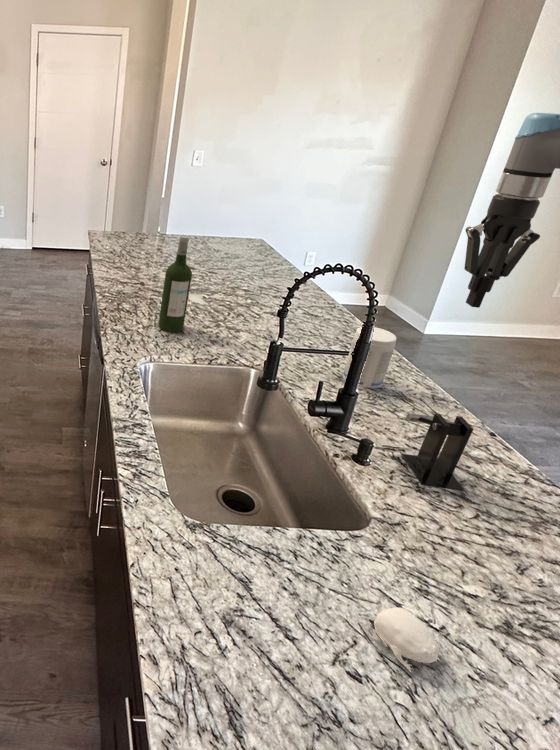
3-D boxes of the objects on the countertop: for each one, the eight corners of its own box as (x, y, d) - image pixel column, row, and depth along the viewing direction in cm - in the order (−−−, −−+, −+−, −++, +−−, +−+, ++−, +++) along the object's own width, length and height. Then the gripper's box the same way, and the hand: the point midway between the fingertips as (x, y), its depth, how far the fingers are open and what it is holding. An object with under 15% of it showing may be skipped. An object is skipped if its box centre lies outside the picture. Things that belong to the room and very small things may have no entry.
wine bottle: (174, 320, 178) (188, 232, 165) (187, 331, 171) (203, 239, 158) (153, 323, 176) (166, 233, 163) (165, 333, 169) (179, 241, 156)
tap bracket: (399, 457, 117) (420, 404, 111) (439, 463, 116) (463, 409, 110) (419, 489, 108) (444, 433, 102) (462, 495, 107) (490, 439, 101)
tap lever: (405, 421, 119) (406, 411, 119) (430, 425, 118) (431, 414, 118) (440, 434, 106) (441, 422, 105) (468, 437, 105) (469, 425, 105)
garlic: (447, 663, 75) (457, 646, 74) (409, 676, 73) (419, 659, 72) (398, 613, 82) (406, 596, 80) (363, 624, 80) (371, 607, 79)
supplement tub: (373, 375, 149) (390, 328, 143) (386, 393, 141) (404, 343, 135) (336, 371, 151) (351, 324, 144) (347, 388, 142) (363, 339, 136)
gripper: (541, 195, 110) (495, 301, 120) (471, 190, 111) (432, 295, 122) (566, 202, 103) (515, 314, 113) (491, 197, 105) (448, 308, 115)
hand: (472, 304), depth 117 cm, fingers closed
